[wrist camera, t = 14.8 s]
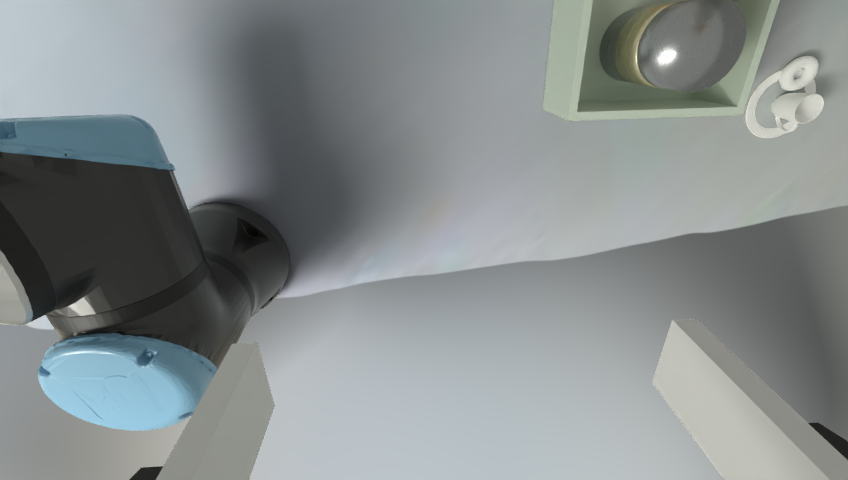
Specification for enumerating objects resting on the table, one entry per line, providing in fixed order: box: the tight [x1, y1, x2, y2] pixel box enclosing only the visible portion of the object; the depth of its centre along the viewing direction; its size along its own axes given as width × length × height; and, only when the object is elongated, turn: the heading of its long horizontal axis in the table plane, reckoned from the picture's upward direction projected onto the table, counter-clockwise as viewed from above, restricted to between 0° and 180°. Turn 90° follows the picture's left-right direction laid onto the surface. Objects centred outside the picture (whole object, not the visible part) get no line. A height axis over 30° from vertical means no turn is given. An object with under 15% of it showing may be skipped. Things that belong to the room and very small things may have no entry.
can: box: [599, 0, 746, 92], centre depth 37 cm, size 7×7×11 cm
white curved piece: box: [745, 56, 824, 138], centre depth 45 cm, size 9×8×4 cm
